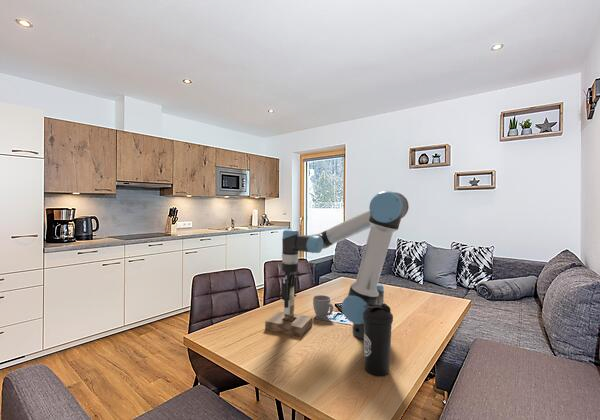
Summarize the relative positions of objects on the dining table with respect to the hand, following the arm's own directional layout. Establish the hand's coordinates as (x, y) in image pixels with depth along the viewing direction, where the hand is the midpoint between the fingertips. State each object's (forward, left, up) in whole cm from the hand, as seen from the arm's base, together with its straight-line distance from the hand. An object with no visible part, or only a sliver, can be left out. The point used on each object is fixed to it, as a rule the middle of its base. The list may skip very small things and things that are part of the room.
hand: (289, 312), depth 141 cm
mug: (-11, -19, -7) cm, 23 cm away
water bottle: (-43, +21, -7) cm, 49 cm away
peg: (0, 0, -4) cm, 4 cm away
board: (0, 0, -7) cm, 7 cm away
